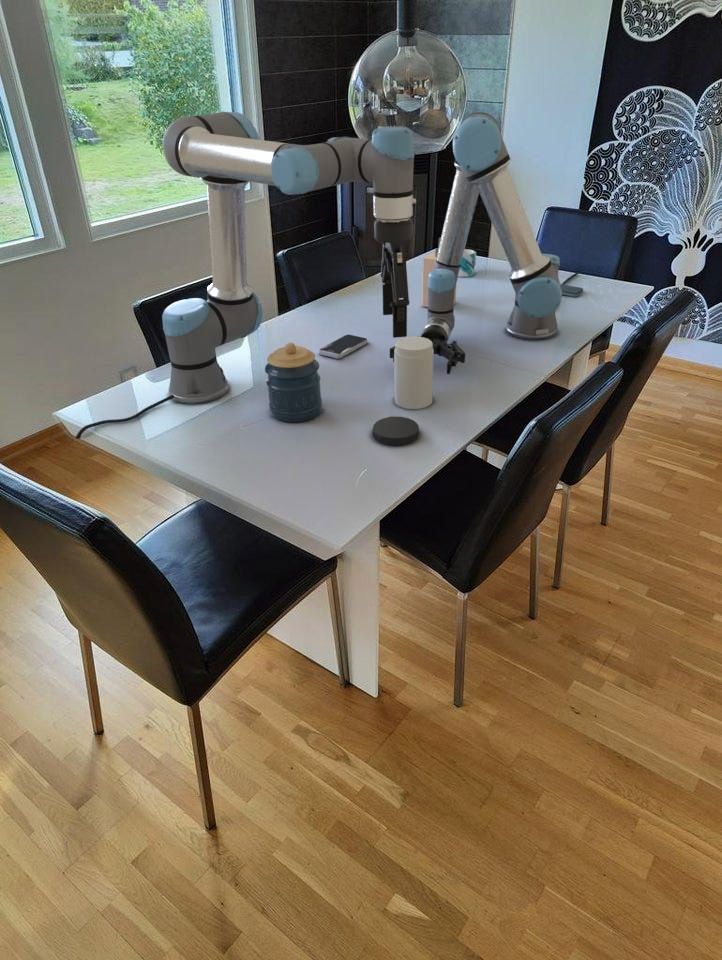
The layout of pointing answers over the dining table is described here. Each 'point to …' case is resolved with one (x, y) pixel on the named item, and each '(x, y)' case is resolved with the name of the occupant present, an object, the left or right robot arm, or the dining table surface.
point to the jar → (413, 372)
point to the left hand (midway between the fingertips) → (394, 325)
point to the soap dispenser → (427, 268)
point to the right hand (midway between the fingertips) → (421, 367)
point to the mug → (467, 263)
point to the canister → (293, 384)
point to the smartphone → (342, 346)
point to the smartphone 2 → (571, 290)
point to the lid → (395, 431)
